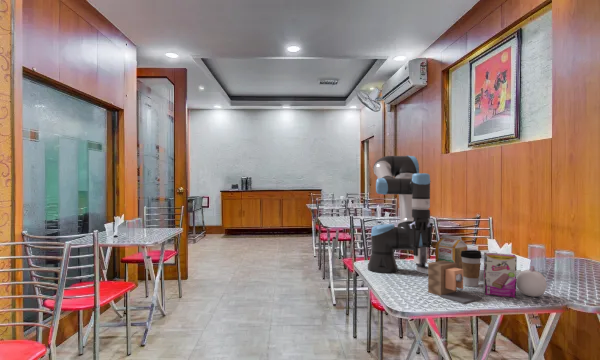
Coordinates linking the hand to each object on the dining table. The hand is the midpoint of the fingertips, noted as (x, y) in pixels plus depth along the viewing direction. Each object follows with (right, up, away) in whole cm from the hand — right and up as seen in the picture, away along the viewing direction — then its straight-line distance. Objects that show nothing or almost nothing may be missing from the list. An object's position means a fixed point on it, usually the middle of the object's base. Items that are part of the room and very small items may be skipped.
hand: (420, 262), depth 158 cm
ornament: (+40, -11, -13) cm, 43 cm away
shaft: (+4, -4, -7) cm, 9 cm away
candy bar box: (+28, -10, -12) cm, 32 cm away
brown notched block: (+6, -10, -10) cm, 15 cm away
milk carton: (+22, -11, +22) cm, 33 cm away
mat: (+10, -10, -17) cm, 22 cm away
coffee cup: (+23, -11, +2) cm, 25 cm away
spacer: (+9, -3, -14) cm, 17 cm away
